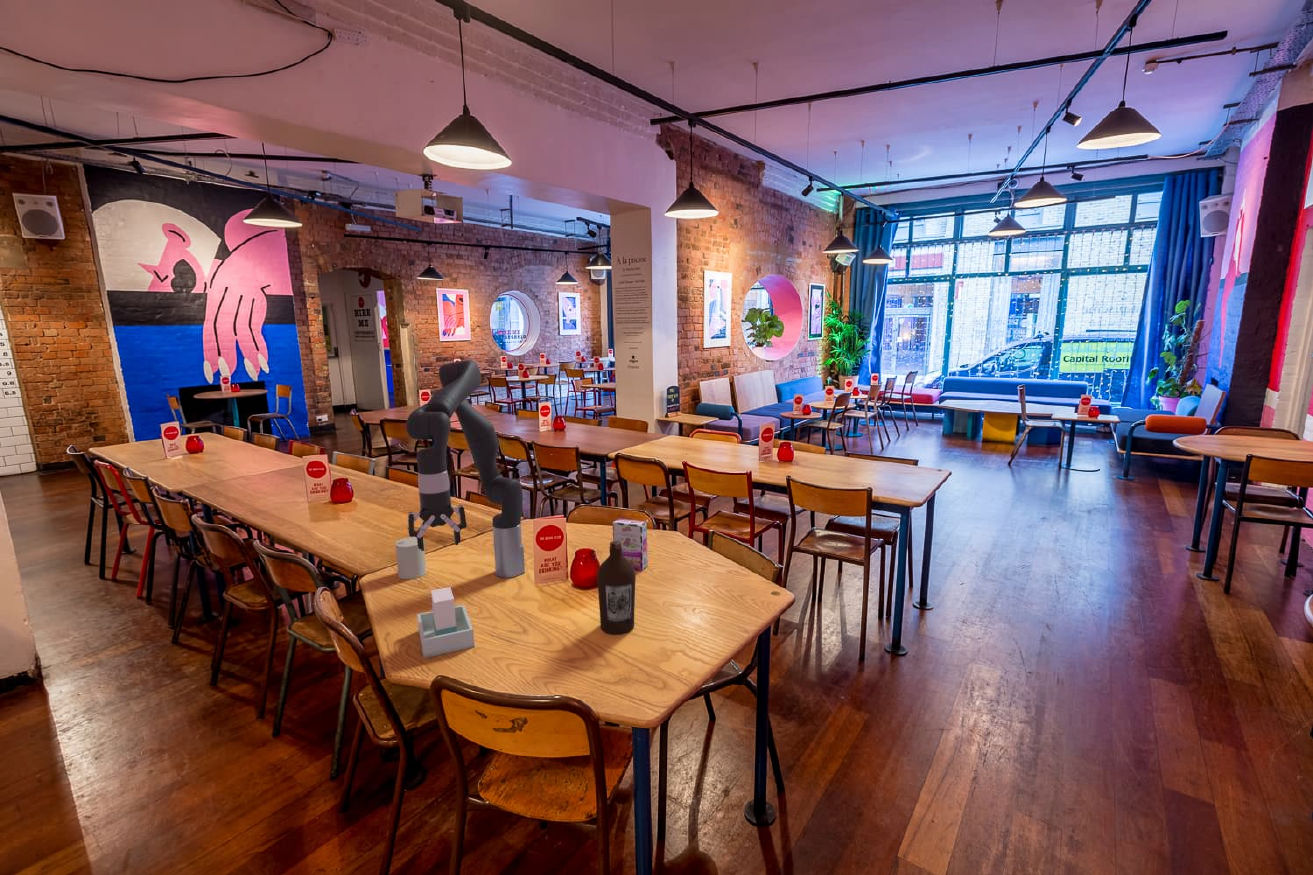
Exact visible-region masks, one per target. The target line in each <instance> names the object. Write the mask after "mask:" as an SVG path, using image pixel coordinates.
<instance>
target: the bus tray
mask: <svg viewBox="0 0 1313 875" xmlns="http://www.w3.org/2000/svg"><path fill="white" fill-rule="evenodd" d="M416 617H417V628H418V634H419V641H420V646H421V651H422V657H423V660H424V659H429V658H432V657H436V656H441V655H445V654H450V653H454V652H458V651H463V650H467V649H473V648H475V638H474V637H475V636H474V635H475V634H474V628H473V625H472V622H471V620H470V616H469V613H468V610H467V608H466V606H465V604H461V605H457V606H456V605H455V617H456V627H457V632H453V633H448V634H444V635H439V636H435V631H434V623H433V610H431V611H427V612H426V611H425V612H420V613H417V614H416Z"/></svg>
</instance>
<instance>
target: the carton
mask: <svg viewBox="0 0 1313 875" xmlns="http://www.w3.org/2000/svg"><path fill="white" fill-rule="evenodd" d="M430 594H431V607H432V611H433V623H434V631H435V636H439V635H444V634H448V633H453V632H457V627H456V617H455V606H456V605H455V597H454V595H453V592H452V588H451V586H448V587H443V588H437V589H432V590H430Z"/></svg>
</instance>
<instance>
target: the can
mask: <svg viewBox="0 0 1313 875" xmlns="http://www.w3.org/2000/svg"><path fill="white" fill-rule="evenodd" d="M423 542H424V543H425V539H424V538H423ZM394 543H395V544H394V545H395V554H396V565H397V577H398V578H399V579H401V580H414V579H418V578H421V577H423V576H425V575H426V574H427V572H428V570H427V564H426V553H425V552H426V551H425V550H426V549H424V551H421V549H419V548H418V544H417V538H416V537H410V536H409V537H405V538H401V539H399V540H397V541H396V542H394Z"/></svg>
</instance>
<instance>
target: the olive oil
mask: <svg viewBox="0 0 1313 875" xmlns="http://www.w3.org/2000/svg"><path fill="white" fill-rule="evenodd" d="M596 574H597V575H596V583H597V591H598V592H597V593H598V607H599V619H600V620H599V621H600V622H599V623H600V624H599V625H600V630H601V631H602V632H603V633H605V634H607V635H611V636H622V635H626V634H629V633H630V632H632V631H633V630H634V628H635V600H636V580H637V579H636V578H637V576H636V570H634V567H633V566H632V564H631V563H630V562H629V561H628V560H627V559H626V558H625V557H623V555H622V546H621V542H620V541H613V540H612V541H610V542H609V555H608V557H606V559H605V560H604V561H603V562H602V563H601V564H600V566H599V567H598V569H597V573H596Z"/></svg>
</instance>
